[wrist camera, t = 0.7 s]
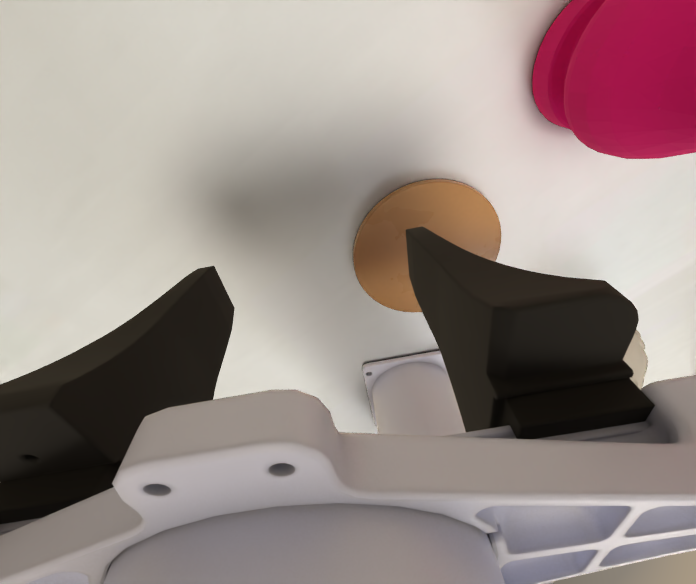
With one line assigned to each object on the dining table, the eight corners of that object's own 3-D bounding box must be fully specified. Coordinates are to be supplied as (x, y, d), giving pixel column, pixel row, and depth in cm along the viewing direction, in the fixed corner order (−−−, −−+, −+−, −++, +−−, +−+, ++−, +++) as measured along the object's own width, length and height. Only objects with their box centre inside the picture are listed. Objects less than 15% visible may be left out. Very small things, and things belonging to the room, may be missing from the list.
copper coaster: (491, 294, 26) (494, 299, 26) (364, 317, 27) (364, 322, 26) (505, 163, 20) (509, 166, 20) (340, 196, 21) (341, 199, 20)
